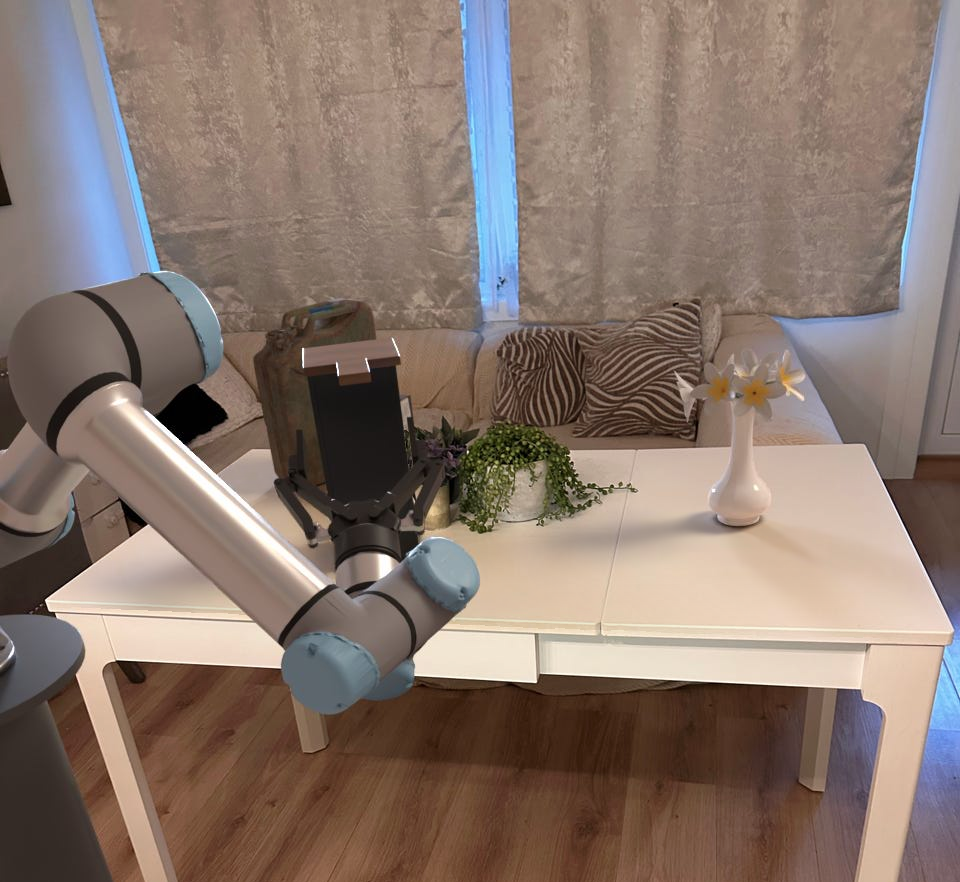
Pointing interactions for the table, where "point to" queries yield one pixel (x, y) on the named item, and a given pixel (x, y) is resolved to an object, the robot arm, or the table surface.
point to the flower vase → (743, 426)
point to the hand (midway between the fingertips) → (356, 430)
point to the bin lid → (350, 359)
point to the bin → (362, 439)
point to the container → (302, 375)
